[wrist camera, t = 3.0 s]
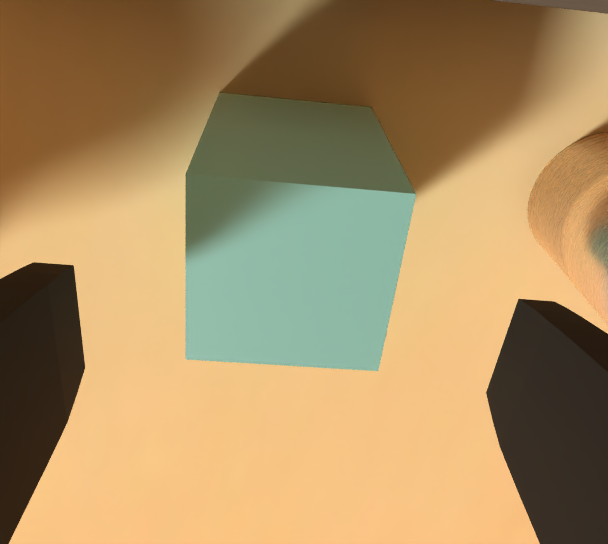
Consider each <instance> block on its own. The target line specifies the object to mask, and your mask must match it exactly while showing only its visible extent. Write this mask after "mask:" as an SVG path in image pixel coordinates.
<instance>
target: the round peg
mask: <svg viewBox="0 0 608 544" xmlns="http://www.w3.org/2000/svg"><path fill="white" fill-rule="evenodd" d="M528 221H529V226H530V229H531V231H532V233H533V235H534V237H535V239H536V240H537V241H538V242H539V244H540V245H541V246H542V247H543V248H544V250H545V251H546V252H547V253H548V254H549V256H550V257H551V258H552V259H553V260H554V262H555V263H556V264H557V265H558V266H559V268H560V269H561V270H562V271H563V272H564V274H565V275H566V276H567V277H568V278H569V280H570V281H571V282H572V283H573V284H574V286H575V287H576V288H577V289H578V290H579V292H580V293H581V294H582V295H583V296H584V298H585V299H586V300H587V301H588V302H589V304H590V305H591V306H592V307H593V308H594V310H595V311H596V312H597V313H598V314H599V316H600V317H601V318H602V319H603V320H604V322H605V323H606V324H607V325H608V132H604V133H599V134H595V135H592V136H589V137H586V138H583V139H581V140H579V141H577V142H575V143H573V144H572V145H570V146H568V147H567V148H565V149H564V150H563V151H561V152H560V153H559V154H558V155H557V156H555V157H554V158H553V159H552V160H551V161H550V162H549V163H548V165H547V166H546V167H545V168H544V169H543V171H542V172H541V174H540V175H539V177H538V178H537V180H536V182H535V184H534V186H533V189H532V191H531V194H530V198H529V203H528Z"/></svg>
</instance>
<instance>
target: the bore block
mask: <svg viewBox="0 0 608 544" xmlns="http://www.w3.org/2000/svg"><path fill="white" fill-rule="evenodd" d="M494 1H503V2H511V3H520V4H529V5H538V6H546V7H555V8H564V9H573V10H581V11H590V12H599V13H608V0H494Z"/></svg>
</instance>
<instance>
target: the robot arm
mask: <svg viewBox="0 0 608 544" xmlns="http://www.w3.org/2000/svg"><path fill="white" fill-rule="evenodd" d="M84 369H85V363H84V354H83V345H82V336H81V327H80V318H79V309H78V300H77V291H76V282H75V273H74V265H61V264H47V263H32V264H29V265H27V266H25V267H23V268H21V269H19V270H17V271H15V272H13V273H11V274H9V275H7V276H5V277H3V278H2V279H0V544H9V542H10V539H11V537H12V535H13V533H14V531H15V529H16V527H17V525H18V523H19V521H20V519H21V517H22V515H23V513H24V511H25V509H26V507H27V505H28V503H29V501H30V499H31V497H32V495H33V493H34V490H35V488H36V486H37V484H38V482H39V480H40V478H41V476H42V474H43V472H44V470H45V468H46V466H47V464H48V462H49V460H50V458H51V456H52V453H53V451H54V449H55V447H56V445H57V443H58V441H59V439H60V437H61V435H62V433H63V430H64V428H65V426H66V424H67V422H68V419H69V416H70V413H71V410H72V407H73V404H74V401H75V398H76V395H77V392H78V389H79V385H80V382H81V379H82V376H83V373H84ZM486 394H487V398H488V402H489V406H490V411H491V415H492V419H493V423H494V427H495V430H496V434H497V437H498V441H499V445H500V448H501V450H502V453H503V455H504V458H505V461H506V463H507V466H508V468H509V470H510V473H511V475H512V478H513V480H514V483H515V485H516V488H517V490H518V492H519V495H520V497H521V500H522V502H523V504H524V507H525V509H526V511H527V514H528V516H529V519H530V521H531V523H532V526H533V528H534V531H535V533H536V535H537V538H538V540H539V542H540V544H608V334H607V333H605V332H604V331H602V330H601V329H599V328H598V327H596V326H595V325H593V324H592V323H590V322H588V321H587V320H585V319H584V318H582V317H581V316H579V315H577V314H576V313H574V312H572V311H571V310H569V309H567V308H565V307H564V306H562V305H560V304H558V303H556V302H552V301H539V300H526V299H518V302H517V305H516V308H515V311H514V314H513V317H512V320H511V323H510V325H509V328H508V331H507V334H506V337H505V340H504V343H503V346H502V349H501V352H500V354H499V357H498V360H497V363H496V366H495V369H494V372H493V375H492V378H491V381H490V383H489V386H488V389H487V392H486Z"/></svg>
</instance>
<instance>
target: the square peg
mask: <svg viewBox="0 0 608 544" xmlns="http://www.w3.org/2000/svg"><path fill="white" fill-rule="evenodd" d="M415 197H416V193H415V191H414V189H413V187H412V185H411V183H410V181H409V179H408V177H407V175H406V173H405V171H404V169H403V167H402V166H401V164H400V162H399V160H398V158H397V156H396V154H395V152H394V150H393V148H392V146H391V144H390V142H389V140H388V139H387V137H386V135H385V133H384V131H383V129H382V127H381V125H380V123H379V121H378V119H377V117H376V115H375V113H374V111H373V110H372V108H371V107H364V106H354V105H344V104H334V103H323V102H313V101H303V100H293V99H282V98H272V97H262V96H252V95H241V94H231V93H221V92H219V95H218V97H217V100H216V102H215V105H214V107H213V109H212V112H211V114H210V117H209V119H208V121H207V124H206V126H205V129H204V131H203V134H202V136H201V138H200V141H199V143H198V146H197V148H196V150H195V153H194V155H193V158H192V160H191V163H190V165H189V167H188V170H187V172H186V359H188V360H205V361H221V362H237V363H254V364H270V365H287V366H303V367H319V368H336V369H352V370H369V371H378V370H379V365H380V360H381V356H382V351H383V346H384V342H385V337H386V332H387V328H388V323H389V318H390V314H391V309H392V304H393V300H394V295H395V290H396V286H397V281H398V276H399V272H400V267H401V262H402V258H403V253H404V248H405V244H406V239H407V235H408V230H409V225H410V221H411V216H412V211H413V207H414V202H415Z"/></svg>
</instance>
